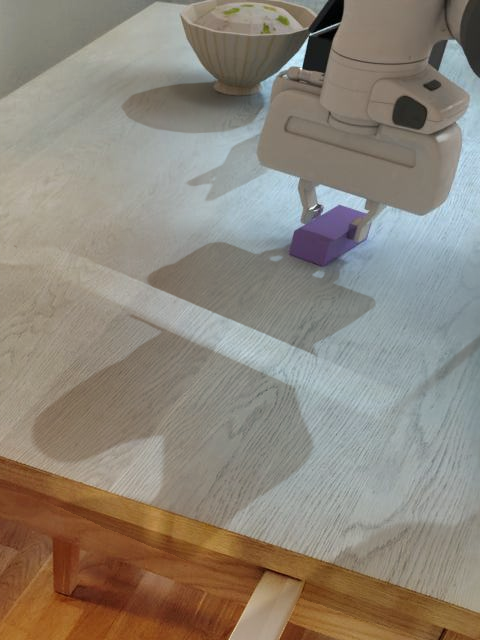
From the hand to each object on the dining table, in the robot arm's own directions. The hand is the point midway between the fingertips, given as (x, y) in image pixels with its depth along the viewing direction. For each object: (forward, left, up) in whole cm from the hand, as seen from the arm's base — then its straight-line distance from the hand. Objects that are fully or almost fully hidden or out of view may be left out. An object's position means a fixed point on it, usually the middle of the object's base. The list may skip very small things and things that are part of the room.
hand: (332, 231), depth 95 cm
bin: (+18, -36, -2) cm, 40 cm away
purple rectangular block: (0, 0, -2) cm, 2 cm away
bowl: (+37, -36, -2) cm, 52 cm away
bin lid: (+20, -36, +14) cm, 44 cm away
